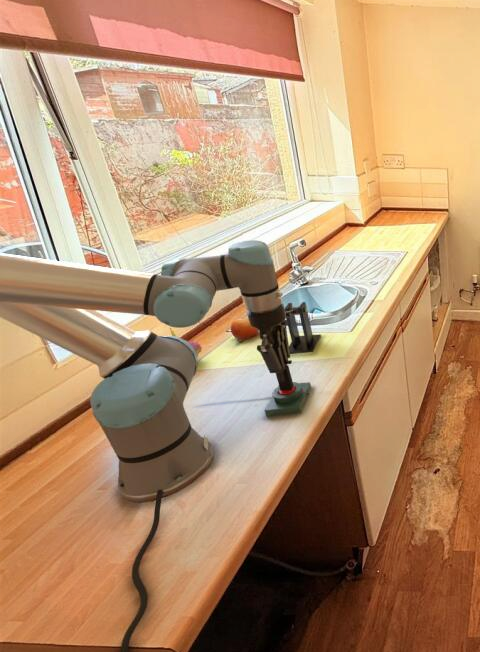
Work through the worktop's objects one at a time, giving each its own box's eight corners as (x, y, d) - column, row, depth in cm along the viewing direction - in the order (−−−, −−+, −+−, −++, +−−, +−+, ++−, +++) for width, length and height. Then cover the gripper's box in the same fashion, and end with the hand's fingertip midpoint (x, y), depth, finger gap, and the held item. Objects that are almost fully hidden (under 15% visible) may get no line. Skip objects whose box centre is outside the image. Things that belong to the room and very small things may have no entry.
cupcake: (163, 369, 117) (148, 333, 112) (192, 354, 124) (180, 320, 119) (183, 375, 114) (169, 339, 109) (212, 359, 121) (200, 325, 116)
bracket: (313, 353, 125) (304, 312, 119) (285, 356, 124) (275, 313, 118) (321, 337, 134) (312, 297, 128) (295, 339, 133) (286, 299, 127)
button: (293, 398, 102) (292, 392, 101) (278, 399, 101) (276, 394, 101) (297, 389, 105) (296, 384, 105) (283, 390, 105) (281, 385, 104)
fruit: (221, 338, 130) (228, 314, 130) (245, 339, 137) (252, 317, 137) (235, 344, 126) (243, 320, 127) (259, 345, 134) (267, 322, 134)
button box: (301, 413, 101) (297, 401, 99) (266, 417, 99) (262, 404, 98) (311, 388, 110) (308, 376, 108) (280, 391, 108) (276, 379, 107)
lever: (289, 319, 111) (289, 310, 111) (270, 320, 111) (269, 311, 110) (306, 313, 125) (305, 305, 125) (289, 314, 125) (288, 307, 124)
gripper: (272, 318, 88) (295, 403, 97) (291, 294, 99) (309, 371, 109) (234, 321, 86) (261, 407, 96) (258, 296, 98) (280, 374, 108)
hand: (287, 388), depth 103 cm, fingers closed
